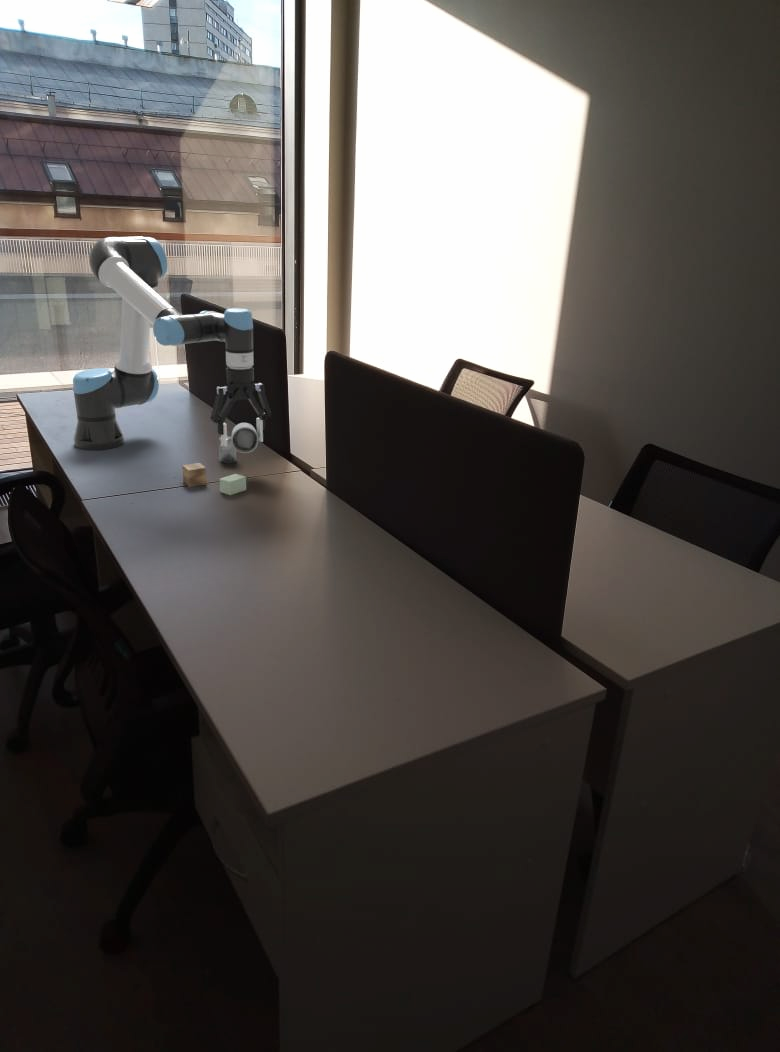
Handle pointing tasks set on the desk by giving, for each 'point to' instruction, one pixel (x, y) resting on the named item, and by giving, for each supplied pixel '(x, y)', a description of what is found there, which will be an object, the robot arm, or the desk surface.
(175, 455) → the desk surface
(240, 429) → the ceramic mug
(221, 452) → the dark metal cylinder
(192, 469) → the walnut block
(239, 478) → the sage green block
